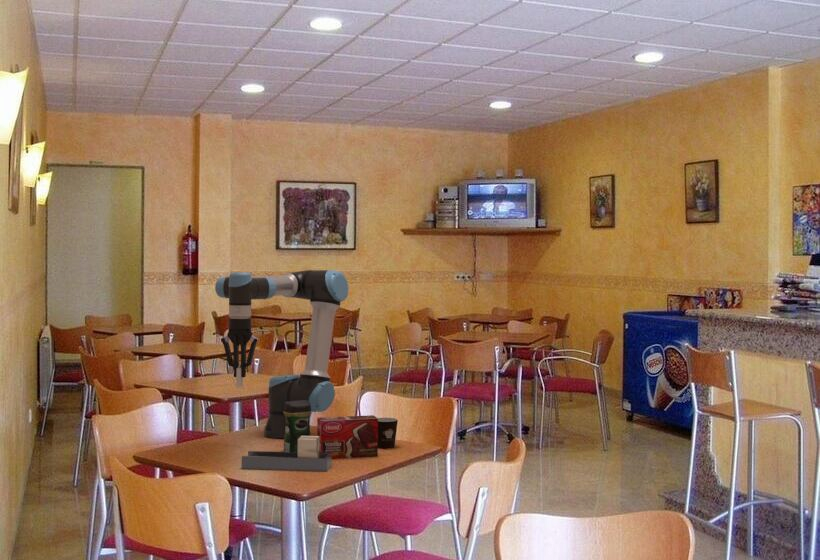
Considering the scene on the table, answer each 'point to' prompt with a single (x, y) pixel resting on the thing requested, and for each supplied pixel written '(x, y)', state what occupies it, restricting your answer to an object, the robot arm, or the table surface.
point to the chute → (285, 461)
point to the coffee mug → (387, 432)
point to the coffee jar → (296, 423)
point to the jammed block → (308, 447)
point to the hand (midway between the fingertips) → (239, 386)
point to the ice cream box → (348, 436)
